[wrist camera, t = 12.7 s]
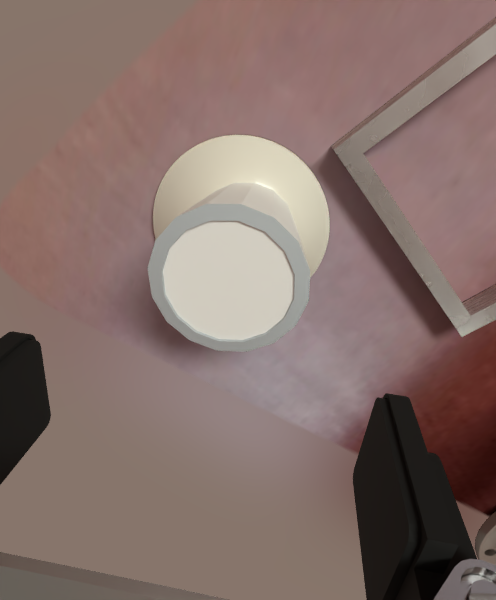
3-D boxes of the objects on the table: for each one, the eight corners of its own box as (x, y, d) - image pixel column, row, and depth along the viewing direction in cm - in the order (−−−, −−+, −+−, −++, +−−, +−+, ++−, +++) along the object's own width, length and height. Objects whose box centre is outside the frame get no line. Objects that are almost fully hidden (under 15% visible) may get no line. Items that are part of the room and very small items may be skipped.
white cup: (263, 306, 25) (252, 378, 19) (165, 247, 24) (120, 302, 18) (332, 216, 22) (346, 266, 16) (224, 142, 21) (195, 166, 15)
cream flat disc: (364, 244, 23) (365, 246, 23) (230, 331, 27) (229, 335, 26) (253, 89, 20) (252, 90, 20) (120, 212, 24) (117, 214, 23)
